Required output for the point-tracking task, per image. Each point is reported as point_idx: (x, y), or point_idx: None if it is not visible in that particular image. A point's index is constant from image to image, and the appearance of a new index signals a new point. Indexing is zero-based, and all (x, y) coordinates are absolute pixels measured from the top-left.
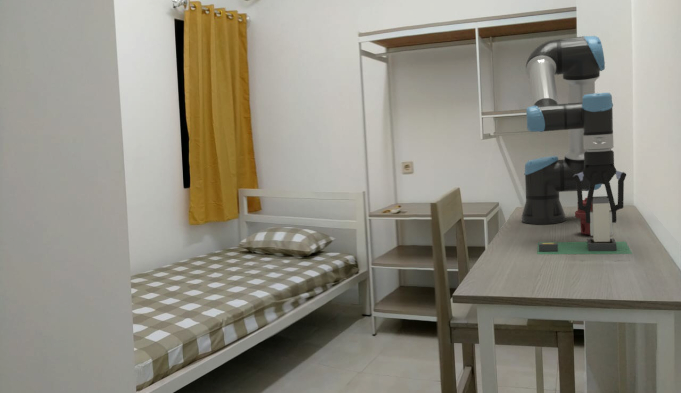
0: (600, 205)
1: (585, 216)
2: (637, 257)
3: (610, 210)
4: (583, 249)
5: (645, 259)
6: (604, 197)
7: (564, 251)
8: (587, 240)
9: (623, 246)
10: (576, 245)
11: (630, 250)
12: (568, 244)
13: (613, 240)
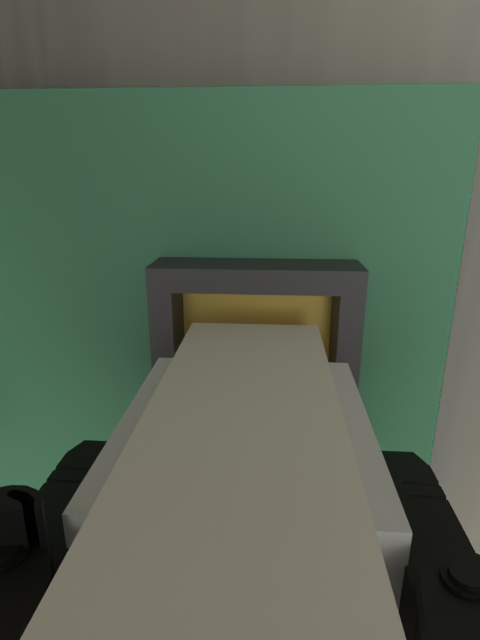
0: None
1: (40, 491)
2: None
3: (404, 539)
4: (134, 379)
5: (473, 541)
6: None
7: (21, 430)
8: (149, 313)
9: (419, 300)
10: (79, 238)
11: (434, 430)
12: (16, 195)
13: (350, 354)
